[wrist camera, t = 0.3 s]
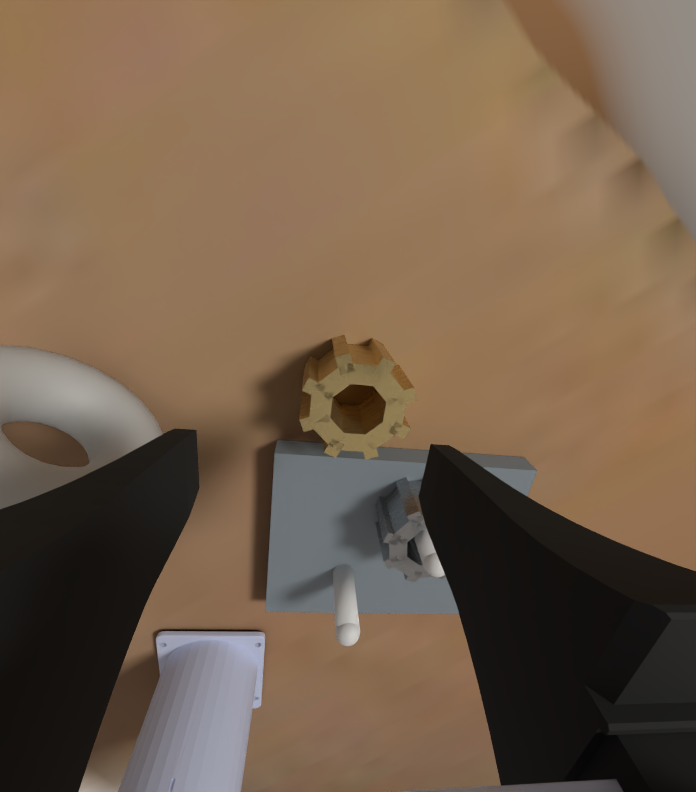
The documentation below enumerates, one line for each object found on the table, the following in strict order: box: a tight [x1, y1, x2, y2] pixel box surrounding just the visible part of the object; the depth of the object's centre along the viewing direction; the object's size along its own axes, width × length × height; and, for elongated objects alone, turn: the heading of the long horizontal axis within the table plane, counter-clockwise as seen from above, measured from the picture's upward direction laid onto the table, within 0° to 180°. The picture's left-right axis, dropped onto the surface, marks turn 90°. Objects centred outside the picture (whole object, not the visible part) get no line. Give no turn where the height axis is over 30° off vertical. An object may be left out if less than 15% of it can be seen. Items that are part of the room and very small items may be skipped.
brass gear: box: [299, 335, 417, 460], centre depth 19 cm, size 6×6×4 cm
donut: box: [0, 345, 163, 509], centre depth 15 cm, size 10×3×10 cm, turn 44°
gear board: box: [265, 440, 537, 646], centre depth 22 cm, size 13×16×6 cm
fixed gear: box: [375, 477, 446, 582], centre depth 21 cm, size 5×5×3 cm
